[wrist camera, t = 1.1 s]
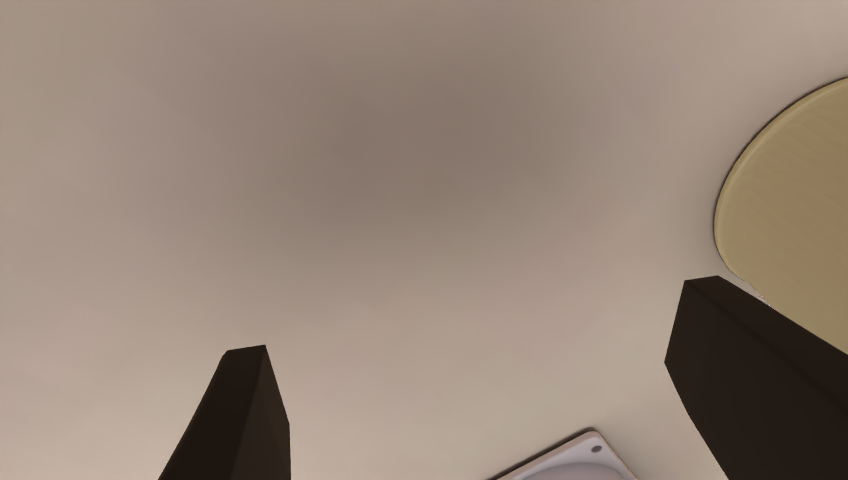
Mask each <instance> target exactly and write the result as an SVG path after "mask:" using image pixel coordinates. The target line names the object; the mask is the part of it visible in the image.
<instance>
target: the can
mask: <svg viewBox="0 0 848 480" xmlns="http://www.w3.org/2000/svg"><path fill="white" fill-rule="evenodd" d="M714 233H715V240H716V245H717V248H718V251H719V253H720V255H721V257H722V259H723V261H724V262H725V264H726V265H727V267H728V268H729V269H730V270H731V271H732V272H733V273H734V274H736V275H737V276H738V277H739V278H741V279H742V280H744V281H746V282H747V283H749V284H750V285H751V286H752V287H753V288H754V289H755V290H756V291H757V292H758V293H759V294H760V295H761V296H762V297H763V298H764V299H765V300H766V301H767V302H768V303H769V304H770V305H771V306H772V307H773V308H774V309H775V310H776V311H778V312H779V313H781V314H782V315H784V316H786V317H787V318H789V319H790V320H792V321H794V322H795V323H797V324H798V325H800V326H802V327H803V328H805V329H806V330H808V331H810V332H811V333H813V334H815V335H816V336H818V337H819V338H821V339H823V340H824V341H826V342H828V343H829V344H831V345H833V346H834V347H836V348H838V349H839V350H841V351H843V352H844V353H846V354H848V78H846V79H843V80H839V81H837V82H835V83H832V84H830V85H827V86H825V87H823V88H821V89H819V90H817V91H815V92H813V93H811V94H810V95H808V96H806V97H805V98H803V99H801V100H799V101H798V102H796V103H795V104H794V105H792V106H791V107H789V108H788V109H786V110H785V111H784V112H782V113H781V114H780V115H779V116H778V117H776V118H775V119H774V120H773V121H772V122H771V123H770V124H769V125H767V126H766V127H765V128H764V129H763V130H762V131H761V132H760V133H759V134H758V135H757V136H756V138H755V139H754V140H753V141H752V142H751V143H750V144H749V145H748V147H747V148H746V149H745V151H744V152H743V153H742V155H741V156H740V157H739V159H738V160H737V162H736V163H735V165H734V166H733V168H732V170H731V172H730V174H729V176H728V177H727V179H726V181H725V184H724V186H723V188H722V191H721V193H720V196H719V200H718V203H717V207H716V212H715V222H714Z"/></svg>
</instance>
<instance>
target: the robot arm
mask: <svg viewBox="0 0 848 480" xmlns="http://www.w3.org/2000/svg"><path fill="white" fill-rule="evenodd" d="M664 363H665V365H666V367H667V370H668V372H669V374H670V376H671V379H672V381H673V383H674V386H675V388H676V390H677V392H678V394H679V396H680V398H681V401H682V403H683V405H684V407H685V409H686V411H687V413H688V415H689V417H690V418H691V420H692V422H693V423H694V425H695V426H696V428H697V430H698V431H699V433H700V435H701V436H702V438H703V439H704V441H705V443H706V444H707V446H708V447H709V449H710V451H711V452H712V454H713V456H714V457H715V459H716V460H717V462H718V463H719V465H720V467H721V468H722V470H723V471H724V473H725V474H726V476H727V478H728V479H729V480H848V354H846V353H844V352H843V351H841V350H839V349H838V348H836V347H834V346H833V345H831V344H829V343H828V342H826V341H824V340H823V339H821V338H819V337H818V336H816V335H815V334H813V333H811V332H810V331H808V330H806V329H805V328H803V327H802V326H800V325H798V324H797V323H795V322H794V321H792V320H790V319H789V318H787V317H786V316H784V315H782V314H781V313H779V312H778V311H776V310H774V309H773V308H771V307H770V306H768V305H766V304H765V303H763V302H762V301H760V300H758V299H757V298H755V297H753V296H752V295H750V294H749V293H747V292H745V291H744V290H742V289H740V288H739V287H737V286H735V285H734V284H732V283H730V282H729V281H727V280H725V279H723V278H722V277H720V276H718V275H717V276H711V277H704V278H698V279H691V280H685V281H684V285H683V289H682V293H681V297H680V301H679V305H678V309H677V313H676V317H675V321H674V325H673V329H672V333H671V337H670V341H669V345H668V349H667V353H666V357H665V361H664ZM158 480H291V458H290V428H289V421H288V418H287V415H286V411H285V408H284V405H283V401H282V398H281V395H280V392H279V388H278V385H277V382H276V378H275V375H274V372H273V368H272V365H271V362H270V359H269V355H268V352H267V349H266V345H260V346H253V347H246V348H240V349H233V350H227V352H226V353H225V354H224V355H223V356H222V358H221V360H220V362H219V364H218V367H217V369H216V371H215V373H214V375H213V377H212V379H211V382H210V384H209V386H208V388H207V390H206V392H205V394H204V396H203V398H202V400H201V402H200V404H199V406H198V408H197V410H196V412H195V413H194V415H193V417H192V419H191V421H190V423H189V425H188V427H187V429H186V431H185V432H184V434H183V436H182V438H181V440H180V441H179V443H178V445H177V447H176V449H175V450H174V452H173V454H172V456H171V458H170V459H169V461H168V463H167V465H166V467H165V468H164V470H163V472H162V474H161V475H160V477H159V479H158ZM497 480H637V478H636V477H635V476H634V475H633V474H632V473H631V471H630V470H629V469H628V468H627V467H626V465H625V464H624V463H623V462H622V461H621V459H620V458H619V457H618V456H617V455H616V453H615V452H614V451H613V450H612V449H611V447H610V446H609V445H608V444H607V443H606V441H605V440H604V439H603V438H602V437H601V435H600V434H599V433H597V432H594V431H590V432H587V433H584V434H583V435H581V436H579V437H577V438H575V439H573V440H571V441H569V442H567V443H565V444H564V445H562V446H560V447H558V448H556V449H554V450H552V451H550V452H548V453H546V454H545V455H543V456H541V457H539V458H537V459H535V460H533V461H531V462H529V463H527V464H526V465H524V466H522V467H520V468H518V469H516V470H514V471H512V472H510V473H508V474H507V475H505V476H503V477H501V478H499V479H497Z"/></svg>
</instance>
